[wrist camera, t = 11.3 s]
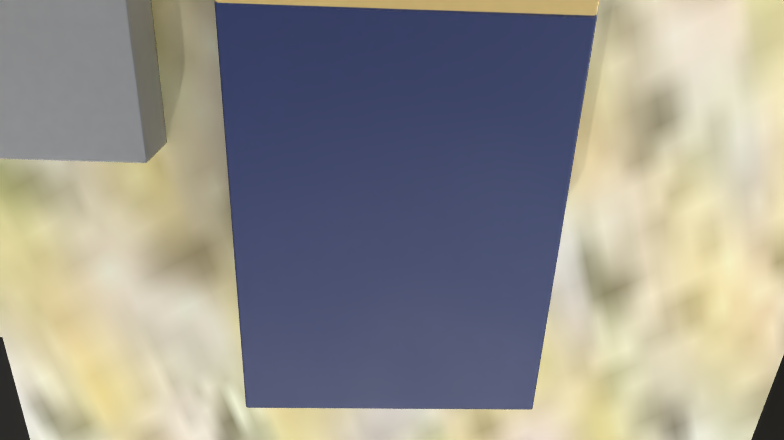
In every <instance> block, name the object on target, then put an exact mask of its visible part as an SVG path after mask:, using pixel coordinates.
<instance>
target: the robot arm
mask: <svg viewBox="0 0 784 440" xmlns="http://www.w3.org/2000/svg"><path fill="white" fill-rule="evenodd" d="M0 440H30V438H29V434H28V430H27V427H26V423H25V419H24V416H23V412H22V408H21V405H20V401H19V397H18V393H17V390H16V386H15V382H14V379H13V375H12V371H11V368H10V364H9V360H8V357H7V353H6V349H5V345H4V342H3V338H2V337H0ZM752 440H784V356H783V358H782V361H781V363H780V366H779V369H778V371H777V374H776V377H775V379H774V382H773V384H772V387H771V390H770V392H769V395H768V398H767V400H766V403H765V405H764V408H763V411H762V413H761V416H760V419H759V421H758V424H757V426H756V429H755V432H754V434H753V437H752Z"/></svg>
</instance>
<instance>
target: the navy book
mask: <svg viewBox="0 0 784 440" xmlns="http://www.w3.org/2000/svg"><path fill="white" fill-rule="evenodd" d="M598 6H599V0H215V13H216V26H217V39H218V52H219V65H220V77H221V90H222V103H223V116H224V129H225V141H226V154H227V167H228V180H229V193H230V206H231V218H232V231H233V244H234V257H235V270H236V282H237V295H238V308H239V321H240V334H241V347H242V359H243V372H244V385H245V398H246V407H248V408H393V409H532V408H533V402H534V396H535V389H536V383H537V377H538V371H539V365H540V359H541V353H542V347H543V341H544V335H545V329H546V323H547V317H548V311H549V305H550V298H551V292H552V286H553V280H554V274H555V268H556V262H557V256H558V250H559V244H560V238H561V232H562V226H563V220H564V214H565V208H566V201H567V195H568V189H569V183H570V177H571V171H572V165H573V159H574V153H575V147H576V141H577V135H578V129H579V123H580V117H581V111H582V104H583V98H584V92H585V86H586V80H587V74H588V68H589V62H590V56H591V50H592V44H593V38H594V32H595V26H596V20H597V12H598Z"/></svg>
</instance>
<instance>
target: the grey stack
mask: <svg viewBox="0 0 784 440" xmlns="http://www.w3.org/2000/svg"><path fill="white" fill-rule="evenodd" d="M166 143H167V139H166V130H165V121H164V112H163V103H162V94H161V85H160V76H159V68H158V59H157V50H156V41H155V32H154V23H153V14H152V5H151V0H0V159H28V160H62V161H97V162H131V163H147V162H148V161H149V160H150V159H151V158H152V157H153V156H154V155H155V154H156V153H157V152H158V151H159V150H160V149H161V148H162V147H163V146H164V145H165V144H166Z"/></svg>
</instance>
